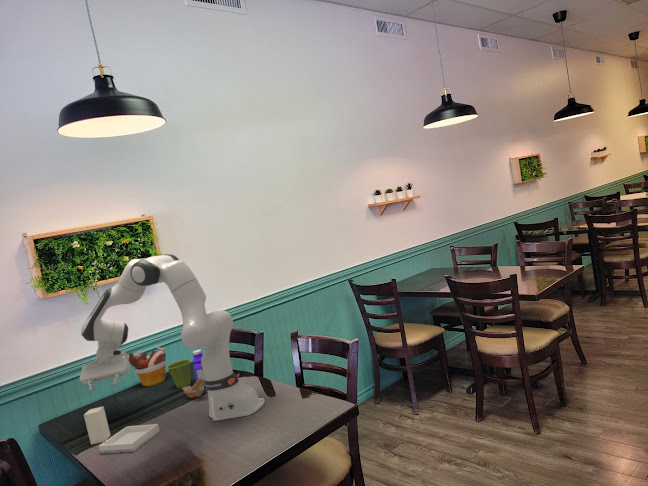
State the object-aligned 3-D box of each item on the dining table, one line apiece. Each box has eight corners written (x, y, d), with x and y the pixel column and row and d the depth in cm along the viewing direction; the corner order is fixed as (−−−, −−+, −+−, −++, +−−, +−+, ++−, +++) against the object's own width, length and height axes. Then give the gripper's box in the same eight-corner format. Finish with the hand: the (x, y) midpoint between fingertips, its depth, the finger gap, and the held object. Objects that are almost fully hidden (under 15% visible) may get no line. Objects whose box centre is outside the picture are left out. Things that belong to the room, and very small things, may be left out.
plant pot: (171, 385, 246) (166, 364, 246) (195, 378, 250) (190, 357, 249) (171, 392, 235) (166, 370, 234) (196, 385, 238) (190, 362, 238)
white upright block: (110, 435, 195) (103, 406, 194) (105, 441, 189) (97, 411, 188) (96, 438, 194) (89, 409, 194) (91, 444, 189) (83, 414, 188)
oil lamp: (195, 403, 211) (190, 381, 210) (177, 396, 227) (172, 375, 227) (213, 395, 216) (208, 374, 216) (194, 389, 233) (189, 368, 232)
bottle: (207, 387, 230) (198, 352, 229) (196, 389, 231) (188, 354, 230) (213, 382, 237) (205, 347, 236) (203, 383, 238) (195, 349, 237)
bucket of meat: (163, 374, 272) (154, 340, 270) (178, 377, 260) (169, 341, 259) (128, 389, 257) (120, 352, 256) (143, 392, 246) (134, 354, 245)
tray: (159, 431, 187) (158, 423, 187) (133, 451, 173) (131, 443, 173) (128, 433, 192) (126, 426, 192) (100, 453, 177) (98, 445, 177)
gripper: (79, 360, 210) (74, 390, 200) (126, 349, 210) (124, 378, 201) (86, 367, 214) (81, 396, 205) (132, 356, 215) (130, 385, 206)
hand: (103, 387), depth 203 cm, fingers open, 8 cm apart
